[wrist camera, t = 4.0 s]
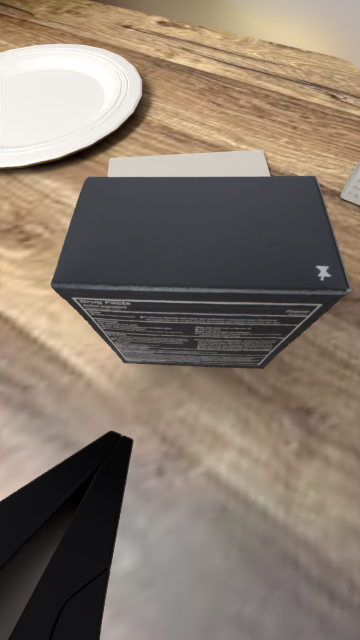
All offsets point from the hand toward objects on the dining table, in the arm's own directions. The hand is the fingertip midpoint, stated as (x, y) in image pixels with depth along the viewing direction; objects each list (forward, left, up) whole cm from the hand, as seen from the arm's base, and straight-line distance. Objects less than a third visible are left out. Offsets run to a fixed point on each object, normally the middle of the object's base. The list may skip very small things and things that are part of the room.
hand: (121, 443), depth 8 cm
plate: (+41, +16, -9) cm, 44 cm away
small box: (+8, -3, -9) cm, 12 cm away
